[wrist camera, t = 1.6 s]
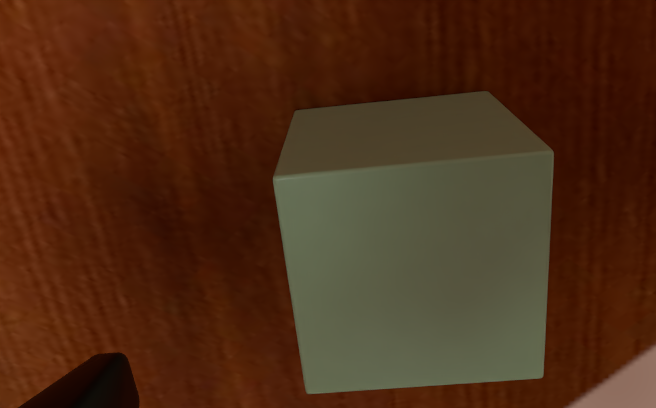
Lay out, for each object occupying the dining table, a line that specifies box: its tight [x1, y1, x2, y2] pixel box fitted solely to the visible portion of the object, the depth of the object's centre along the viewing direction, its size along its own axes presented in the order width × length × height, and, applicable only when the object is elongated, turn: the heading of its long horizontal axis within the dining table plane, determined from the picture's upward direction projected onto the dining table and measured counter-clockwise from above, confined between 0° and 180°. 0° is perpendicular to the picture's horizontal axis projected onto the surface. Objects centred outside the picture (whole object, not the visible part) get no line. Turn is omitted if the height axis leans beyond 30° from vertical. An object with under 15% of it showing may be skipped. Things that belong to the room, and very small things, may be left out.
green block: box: [273, 91, 554, 394], centre depth 12 cm, size 4×4×4 cm
